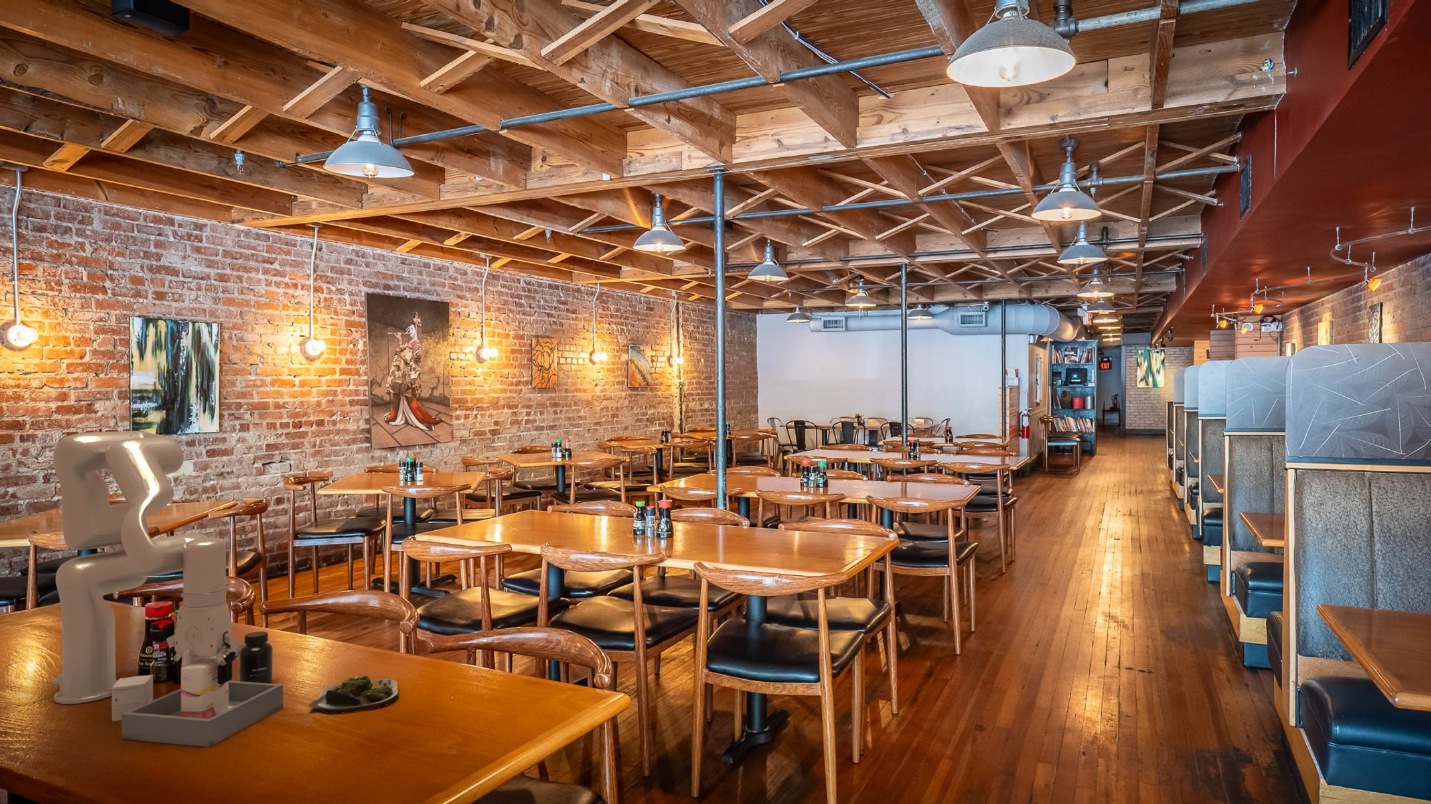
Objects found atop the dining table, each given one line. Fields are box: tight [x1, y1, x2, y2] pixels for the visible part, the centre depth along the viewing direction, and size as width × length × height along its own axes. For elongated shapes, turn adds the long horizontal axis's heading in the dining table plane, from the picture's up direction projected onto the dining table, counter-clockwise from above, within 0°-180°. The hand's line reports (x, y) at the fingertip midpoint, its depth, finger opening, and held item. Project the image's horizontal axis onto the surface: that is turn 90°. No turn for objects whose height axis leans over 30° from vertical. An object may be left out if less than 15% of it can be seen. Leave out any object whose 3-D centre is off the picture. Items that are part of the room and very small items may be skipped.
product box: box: [111, 674, 154, 722], centre depth 172 cm, size 6×6×7 cm
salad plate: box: [308, 675, 399, 714], centre depth 182 cm, size 19×18×5 cm
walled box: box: [121, 680, 284, 748], centre depth 168 cm, size 20×20×5 cm
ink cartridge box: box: [180, 650, 229, 719], centre depth 167 cm, size 9×5×15 cm, turn 0°
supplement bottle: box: [238, 631, 274, 684], centre depth 189 cm, size 7×7×12 cm
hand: (204, 680), depth 168 cm, fingers open, 9 cm apart
